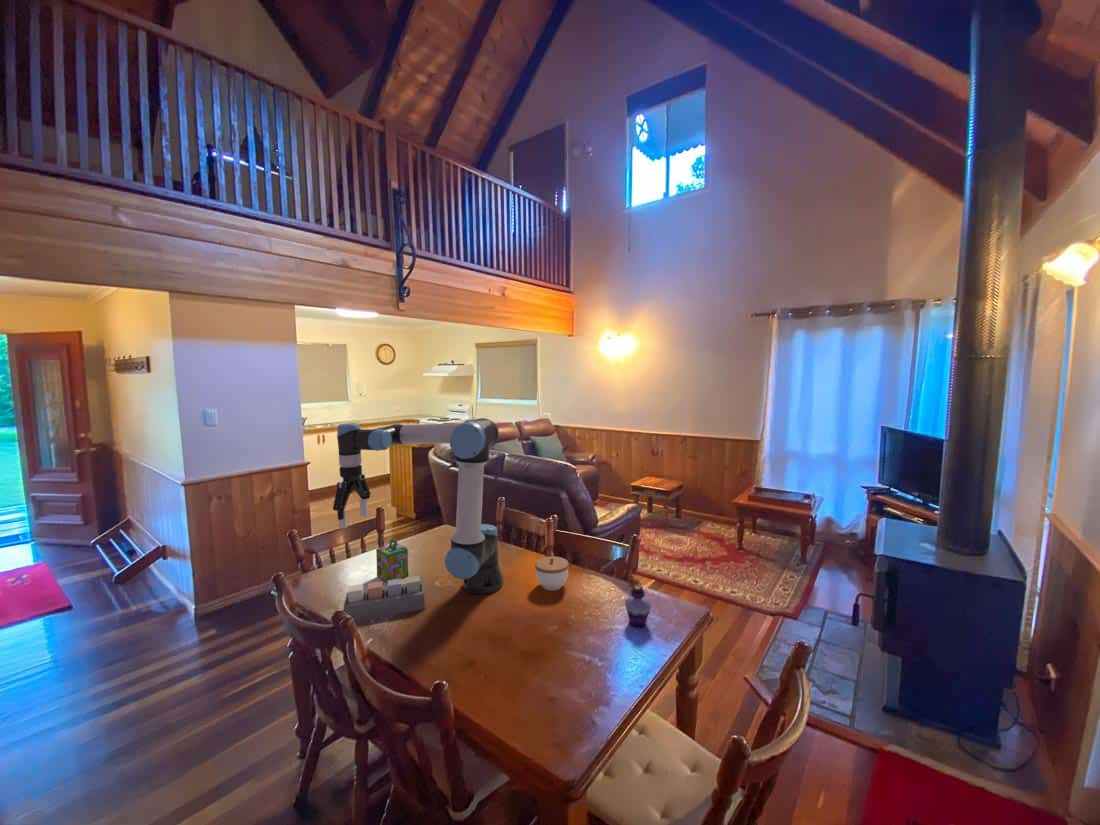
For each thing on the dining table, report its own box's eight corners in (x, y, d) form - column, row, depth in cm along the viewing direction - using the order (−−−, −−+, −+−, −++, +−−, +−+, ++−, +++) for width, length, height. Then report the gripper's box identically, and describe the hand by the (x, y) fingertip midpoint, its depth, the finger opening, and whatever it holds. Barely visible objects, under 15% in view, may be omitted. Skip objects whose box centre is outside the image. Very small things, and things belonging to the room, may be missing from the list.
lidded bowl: (569, 579, 178) (569, 551, 177) (567, 594, 166) (567, 565, 165) (537, 578, 179) (537, 551, 178) (533, 593, 167) (532, 564, 166)
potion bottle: (641, 613, 152) (641, 579, 151) (656, 627, 144) (657, 590, 143) (619, 619, 149) (619, 583, 148) (633, 633, 141) (633, 595, 140)
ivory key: (363, 599, 157) (363, 584, 157) (363, 605, 153) (362, 589, 153) (350, 601, 156) (349, 586, 156) (348, 607, 152) (347, 592, 151)
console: (423, 595, 167) (422, 581, 166) (424, 609, 157) (424, 593, 157) (347, 608, 159) (346, 592, 158) (344, 622, 149) (343, 606, 149)
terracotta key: (383, 596, 159) (382, 581, 159) (382, 602, 155) (381, 586, 155) (369, 598, 158) (368, 583, 158) (368, 604, 154) (367, 588, 153)
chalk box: (376, 577, 183) (374, 541, 181) (397, 569, 189) (395, 534, 188) (388, 584, 176) (386, 546, 175) (409, 575, 183) (407, 540, 182)
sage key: (419, 590, 163) (419, 575, 163) (420, 595, 159) (419, 581, 159) (407, 592, 162) (406, 577, 161) (407, 598, 158) (406, 583, 157)
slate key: (401, 593, 161) (400, 578, 161) (401, 599, 157) (401, 583, 157) (388, 595, 160) (387, 580, 159) (388, 601, 156) (387, 586, 155)
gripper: (360, 458, 181) (363, 510, 183) (319, 472, 157) (323, 532, 159) (377, 458, 180) (380, 511, 182) (339, 473, 155) (343, 533, 157)
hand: (354, 521), depth 170 cm, fingers open, 13 cm apart
